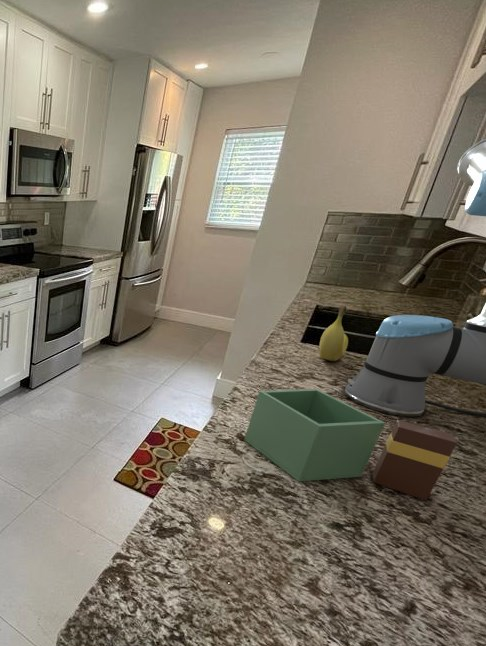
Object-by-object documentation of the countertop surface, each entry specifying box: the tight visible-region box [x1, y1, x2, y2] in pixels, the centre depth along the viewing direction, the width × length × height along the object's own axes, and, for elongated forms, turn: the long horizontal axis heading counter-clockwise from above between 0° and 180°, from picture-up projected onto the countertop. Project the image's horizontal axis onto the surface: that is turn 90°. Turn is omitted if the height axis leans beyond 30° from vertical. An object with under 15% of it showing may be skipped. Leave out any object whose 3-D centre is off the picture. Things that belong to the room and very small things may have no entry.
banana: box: [318, 305, 349, 362], centre depth 132 cm, size 23×6×20 cm, turn 130°
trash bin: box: [243, 388, 386, 482], centre depth 81 cm, size 14×14×12 cm
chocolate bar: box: [371, 419, 458, 501], centre depth 73 cm, size 4×7×12 cm, turn 50°
